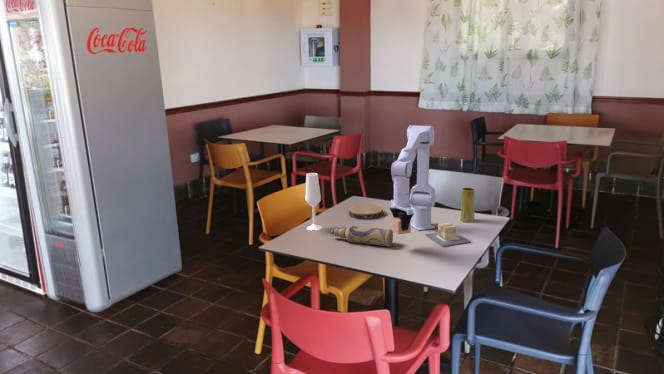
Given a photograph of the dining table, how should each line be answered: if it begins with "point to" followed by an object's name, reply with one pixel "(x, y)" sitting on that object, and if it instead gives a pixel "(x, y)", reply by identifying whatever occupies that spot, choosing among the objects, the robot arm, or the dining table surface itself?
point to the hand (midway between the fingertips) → (401, 227)
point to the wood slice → (366, 211)
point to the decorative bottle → (365, 235)
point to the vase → (467, 205)
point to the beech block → (447, 231)
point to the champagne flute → (313, 196)
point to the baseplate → (450, 242)
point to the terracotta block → (398, 228)
